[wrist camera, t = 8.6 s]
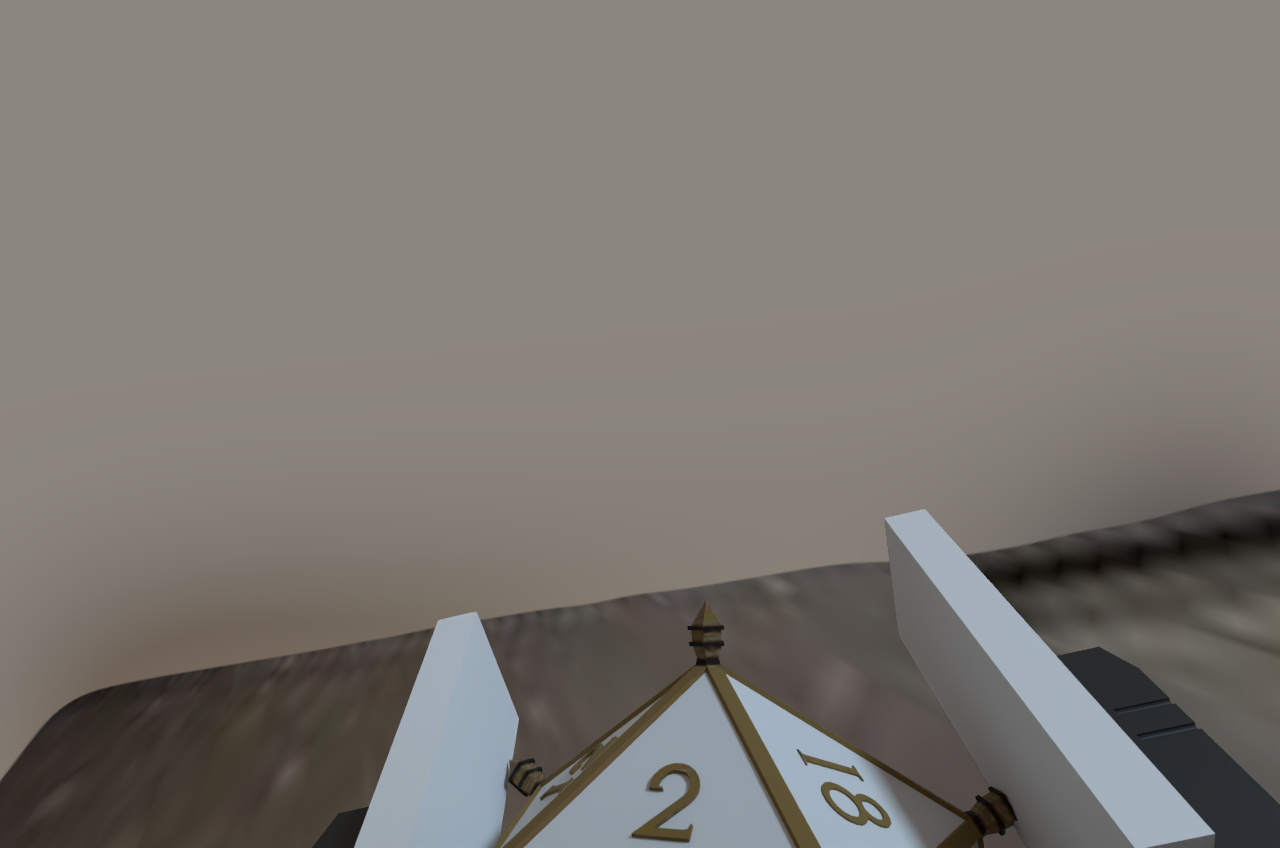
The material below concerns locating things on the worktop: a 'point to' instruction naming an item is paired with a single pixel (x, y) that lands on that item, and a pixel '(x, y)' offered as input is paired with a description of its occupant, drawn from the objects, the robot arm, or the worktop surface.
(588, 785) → the game die
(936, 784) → the worktop surface
